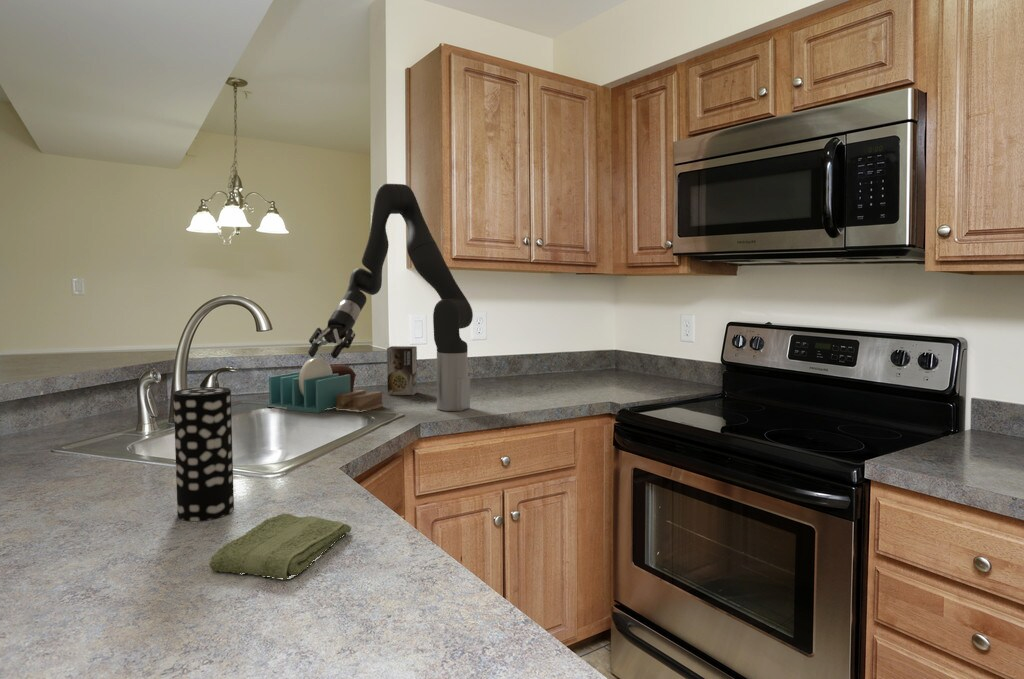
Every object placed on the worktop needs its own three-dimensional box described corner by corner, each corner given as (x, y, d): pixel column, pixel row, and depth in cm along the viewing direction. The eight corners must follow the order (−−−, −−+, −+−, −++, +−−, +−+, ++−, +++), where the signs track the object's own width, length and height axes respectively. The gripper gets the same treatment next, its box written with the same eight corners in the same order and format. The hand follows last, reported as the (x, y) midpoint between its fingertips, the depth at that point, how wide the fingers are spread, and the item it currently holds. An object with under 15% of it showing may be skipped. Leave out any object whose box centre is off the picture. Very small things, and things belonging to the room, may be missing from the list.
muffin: (316, 393, 218) (315, 364, 217) (346, 390, 225) (346, 362, 224) (331, 398, 208) (330, 368, 208) (362, 395, 216) (361, 365, 215)
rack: (352, 403, 200) (352, 374, 199) (318, 412, 185) (317, 381, 184) (303, 398, 207) (303, 370, 207) (267, 407, 193) (266, 377, 192)
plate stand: (382, 406, 196) (382, 391, 196) (360, 412, 186) (360, 397, 186) (358, 404, 200) (358, 389, 199) (335, 410, 189) (335, 395, 189)
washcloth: (355, 534, 97) (355, 513, 97) (292, 587, 80) (292, 562, 80) (277, 526, 100) (277, 506, 100) (200, 576, 83) (199, 552, 82)
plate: (330, 401, 200) (334, 360, 201) (301, 400, 188) (306, 356, 189) (325, 401, 200) (329, 359, 202) (296, 399, 189) (301, 356, 190)
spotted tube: (241, 503, 109) (238, 387, 107) (221, 521, 101) (217, 395, 99) (192, 503, 109) (188, 386, 107) (167, 521, 100) (163, 395, 99)
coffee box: (417, 392, 222) (417, 346, 221) (413, 395, 216) (412, 348, 215) (392, 391, 223) (391, 345, 222) (386, 394, 217) (386, 347, 215)
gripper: (321, 308, 206) (297, 347, 197) (357, 309, 201) (334, 349, 191) (332, 324, 211) (309, 362, 202) (368, 325, 206) (346, 364, 196)
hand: (321, 356), depth 196 cm, fingers open, 8 cm apart
